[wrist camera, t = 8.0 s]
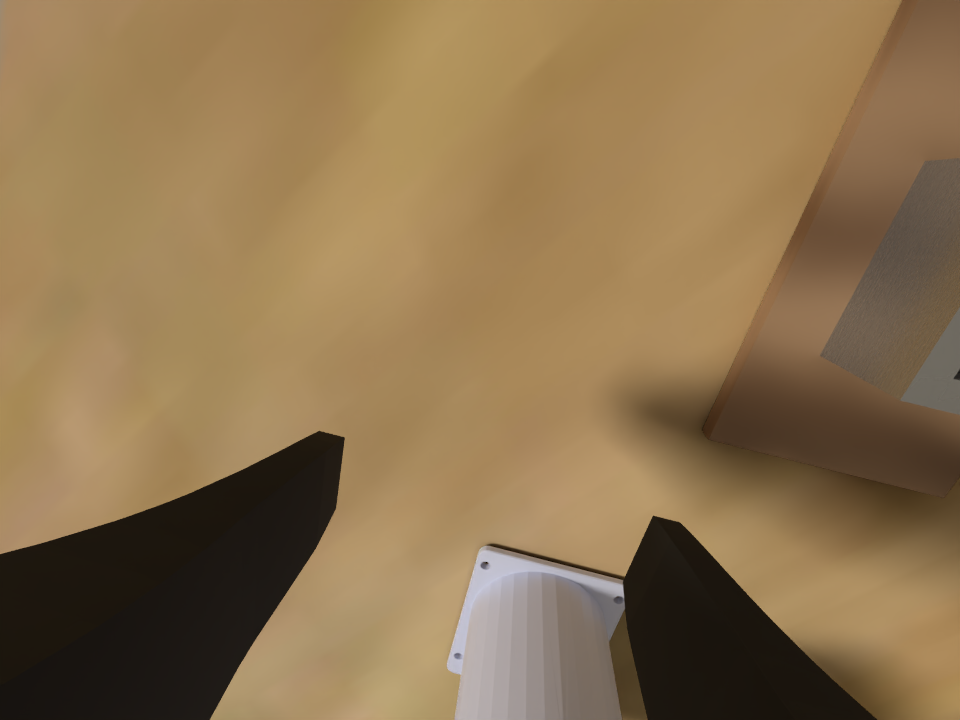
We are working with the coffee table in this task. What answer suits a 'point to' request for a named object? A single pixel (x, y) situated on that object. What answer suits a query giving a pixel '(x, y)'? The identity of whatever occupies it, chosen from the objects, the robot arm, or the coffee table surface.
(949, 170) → the steel link
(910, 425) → the keeper board
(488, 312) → the coffee table surface
